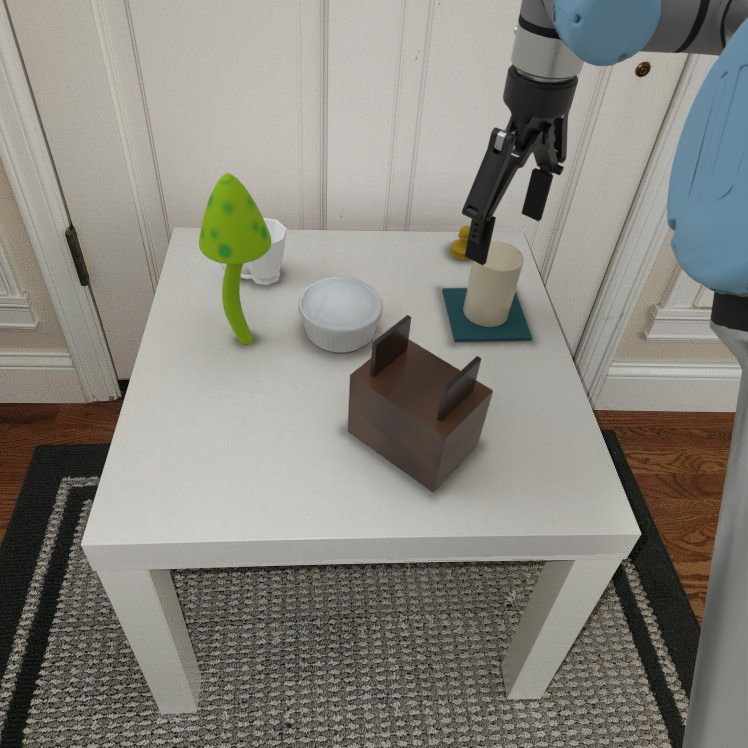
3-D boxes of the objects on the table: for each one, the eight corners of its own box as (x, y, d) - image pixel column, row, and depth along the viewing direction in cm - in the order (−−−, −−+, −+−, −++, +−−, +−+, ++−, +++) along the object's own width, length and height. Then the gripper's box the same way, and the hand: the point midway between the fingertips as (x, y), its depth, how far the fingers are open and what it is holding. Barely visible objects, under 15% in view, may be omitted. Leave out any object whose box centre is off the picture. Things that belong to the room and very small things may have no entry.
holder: (477, 445, 79) (502, 358, 68) (433, 493, 74) (452, 406, 63) (394, 390, 84) (404, 301, 73) (347, 431, 79) (351, 342, 68)
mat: (513, 290, 100) (514, 287, 99) (531, 340, 92) (532, 337, 92) (442, 291, 99) (442, 287, 98) (454, 342, 91) (454, 339, 91)
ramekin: (291, 311, 94) (290, 282, 90) (366, 298, 96) (368, 270, 93) (310, 366, 86) (309, 337, 83) (390, 351, 89) (393, 322, 85)
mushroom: (273, 363, 86) (260, 196, 68) (209, 359, 86) (178, 190, 68) (281, 321, 92) (272, 156, 74) (221, 316, 92) (197, 150, 74)
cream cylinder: (517, 311, 95) (533, 255, 88) (492, 333, 92) (506, 277, 85) (479, 290, 98) (491, 234, 91) (453, 312, 95) (464, 255, 87)
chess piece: (448, 245, 107) (453, 219, 103) (472, 245, 107) (477, 219, 103) (452, 260, 104) (456, 234, 100) (476, 260, 104) (482, 234, 101)
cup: (292, 287, 97) (291, 242, 91) (224, 296, 95) (217, 250, 89) (284, 259, 102) (282, 214, 96) (219, 266, 100) (212, 221, 94)
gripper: (569, 31, 78) (528, 190, 94) (447, 91, 65) (423, 266, 80) (627, 49, 75) (575, 211, 91) (512, 117, 61) (474, 294, 77)
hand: (504, 237), depth 85 cm, fingers open, 13 cm apart
